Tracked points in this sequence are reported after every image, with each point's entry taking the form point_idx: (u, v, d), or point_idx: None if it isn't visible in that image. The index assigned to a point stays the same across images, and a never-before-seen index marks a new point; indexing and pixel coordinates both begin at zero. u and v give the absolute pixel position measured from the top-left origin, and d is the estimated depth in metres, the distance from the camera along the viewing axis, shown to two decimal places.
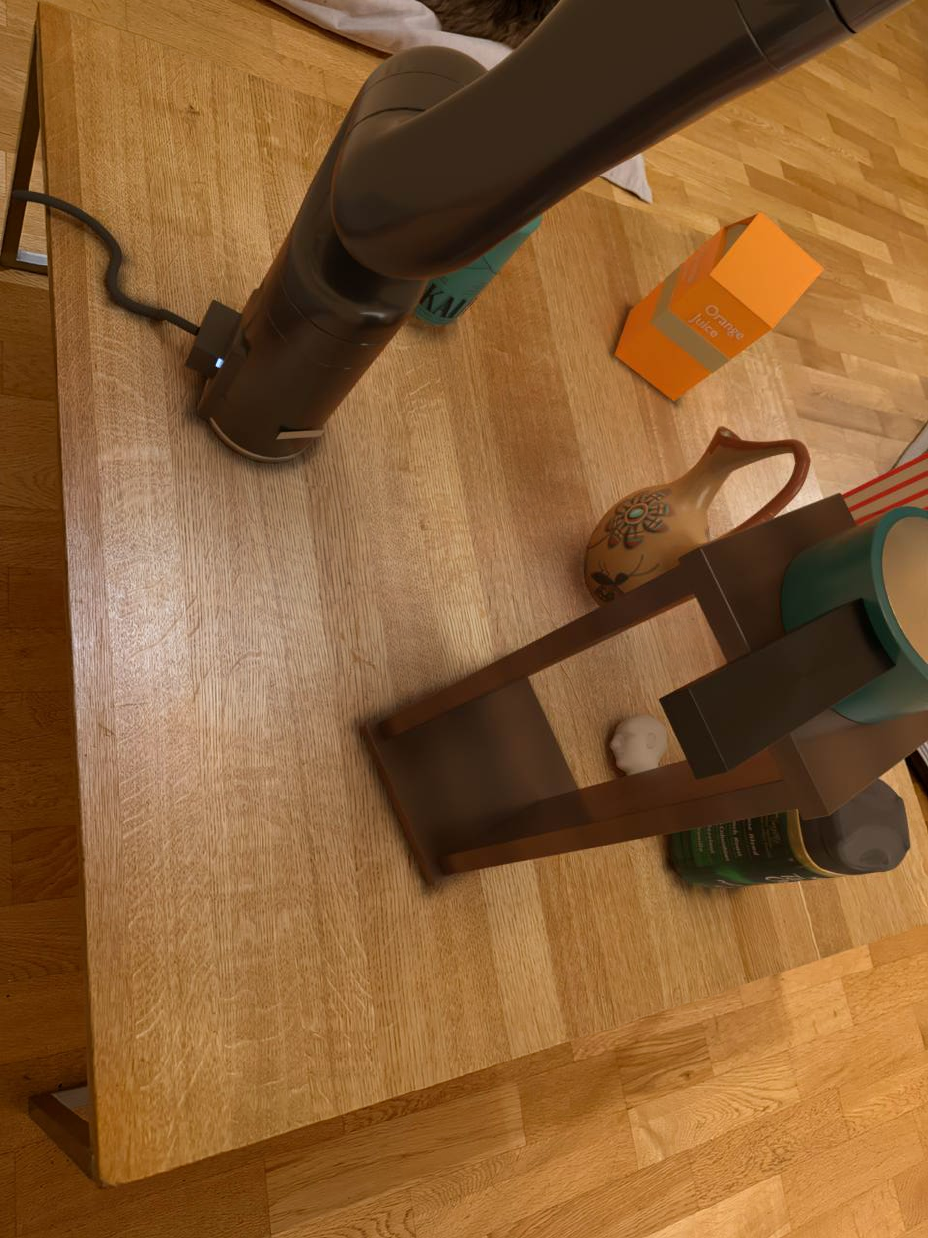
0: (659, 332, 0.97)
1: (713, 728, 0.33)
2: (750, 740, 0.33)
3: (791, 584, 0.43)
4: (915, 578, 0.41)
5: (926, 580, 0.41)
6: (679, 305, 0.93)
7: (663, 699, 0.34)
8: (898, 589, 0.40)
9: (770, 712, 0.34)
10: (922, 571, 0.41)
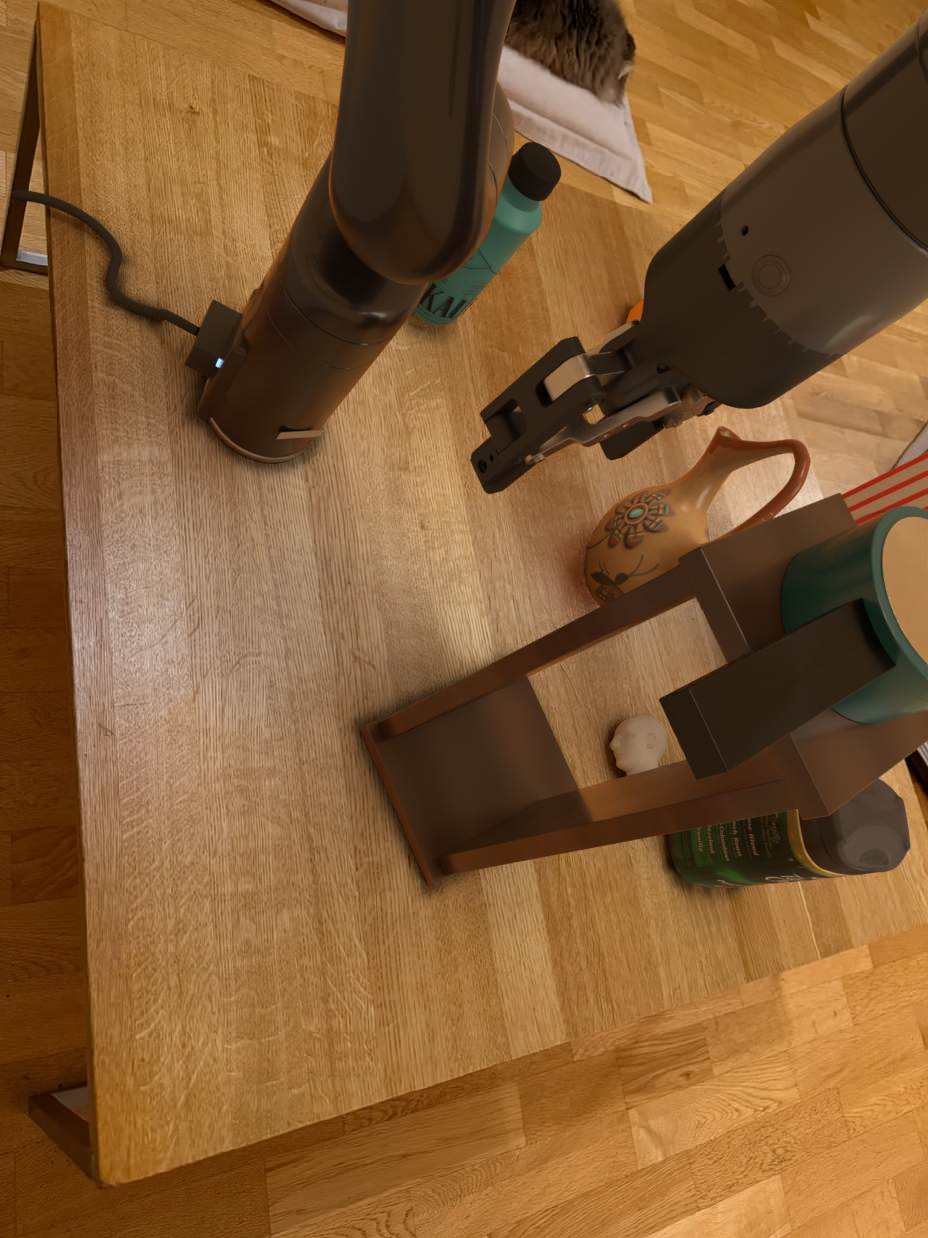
0: None
1: (713, 728, 0.33)
2: (749, 740, 0.33)
3: (791, 584, 0.43)
4: (915, 578, 0.41)
5: (926, 580, 0.41)
6: None
7: (663, 699, 0.34)
8: (898, 589, 0.40)
9: (769, 712, 0.34)
10: (922, 571, 0.41)
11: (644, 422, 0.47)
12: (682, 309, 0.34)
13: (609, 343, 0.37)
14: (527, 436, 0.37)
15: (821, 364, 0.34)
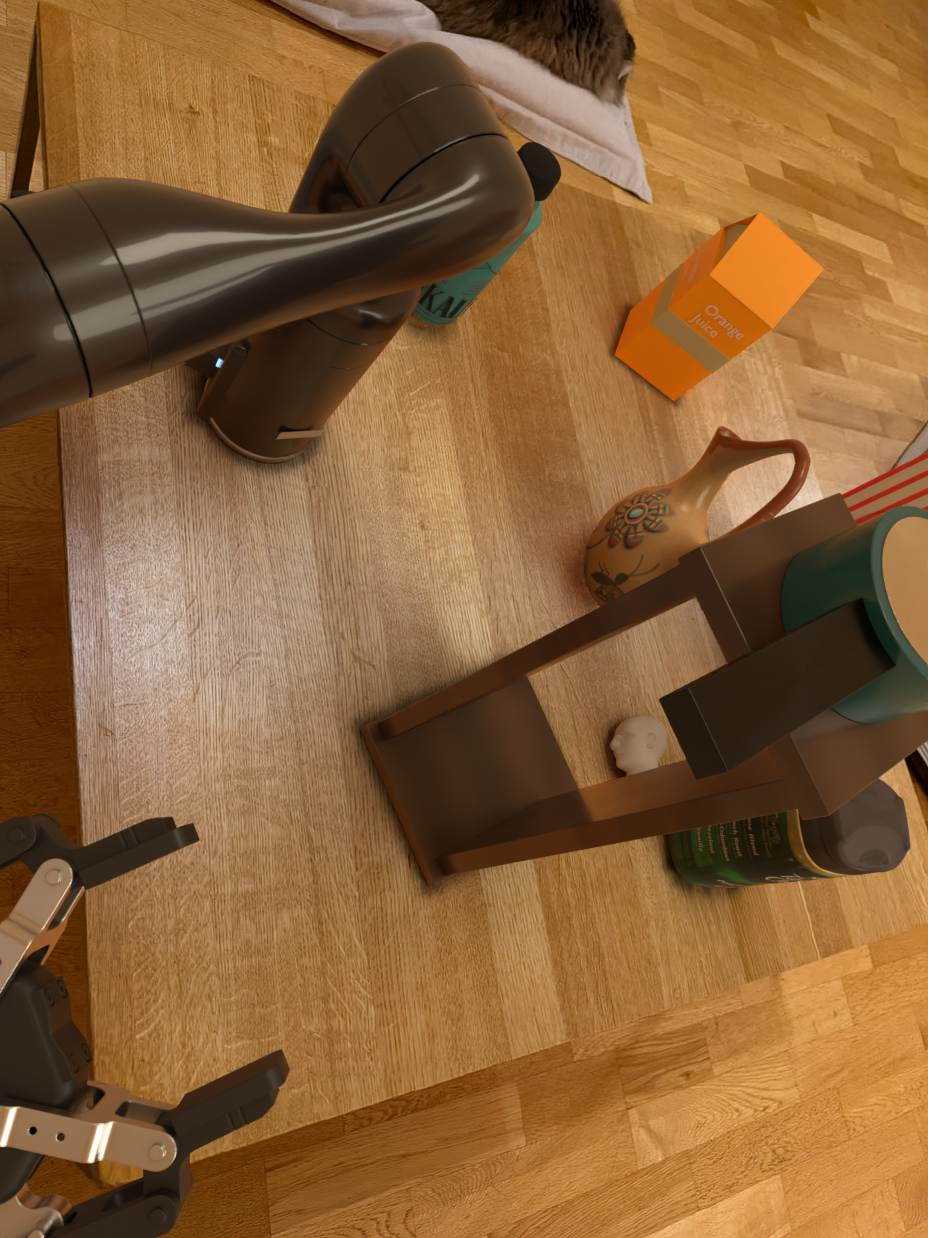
0: (659, 332, 0.97)
1: (713, 728, 0.33)
2: (749, 740, 0.33)
3: (791, 584, 0.43)
4: (915, 578, 0.41)
5: (926, 580, 0.41)
6: (679, 305, 0.93)
7: (663, 699, 0.34)
8: (898, 589, 0.40)
9: (769, 712, 0.34)
10: (922, 571, 0.41)
11: (192, 1095, 0.32)
12: None
13: None
14: None
15: None
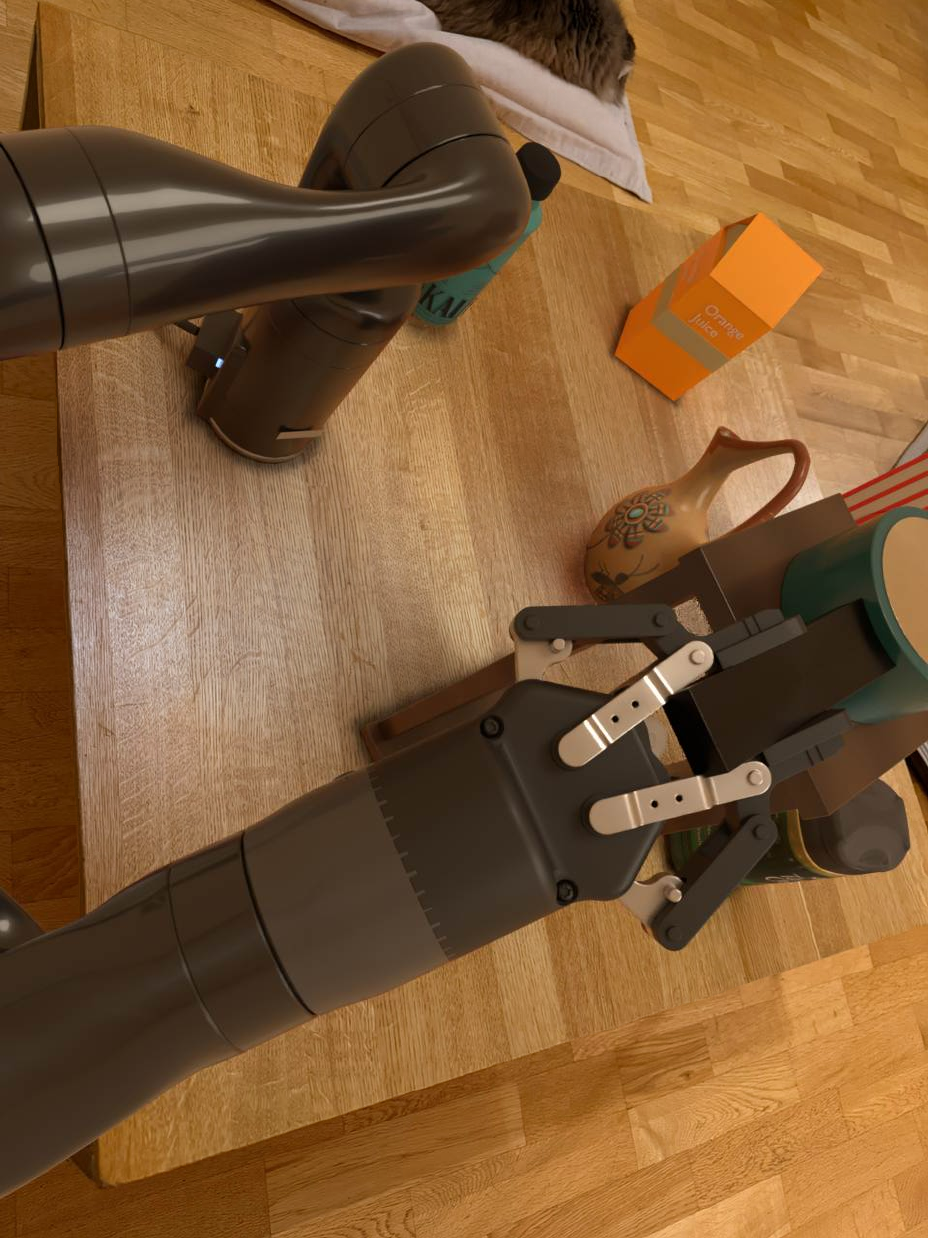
0: (659, 332, 0.97)
1: (713, 729, 0.33)
2: (750, 741, 0.33)
3: (791, 584, 0.43)
4: (916, 578, 0.41)
5: (926, 580, 0.41)
6: (679, 305, 0.93)
7: None
8: (899, 589, 0.40)
9: (770, 712, 0.34)
10: (923, 571, 0.41)
11: None
12: (430, 736, 0.34)
13: (514, 690, 0.34)
14: None
15: None
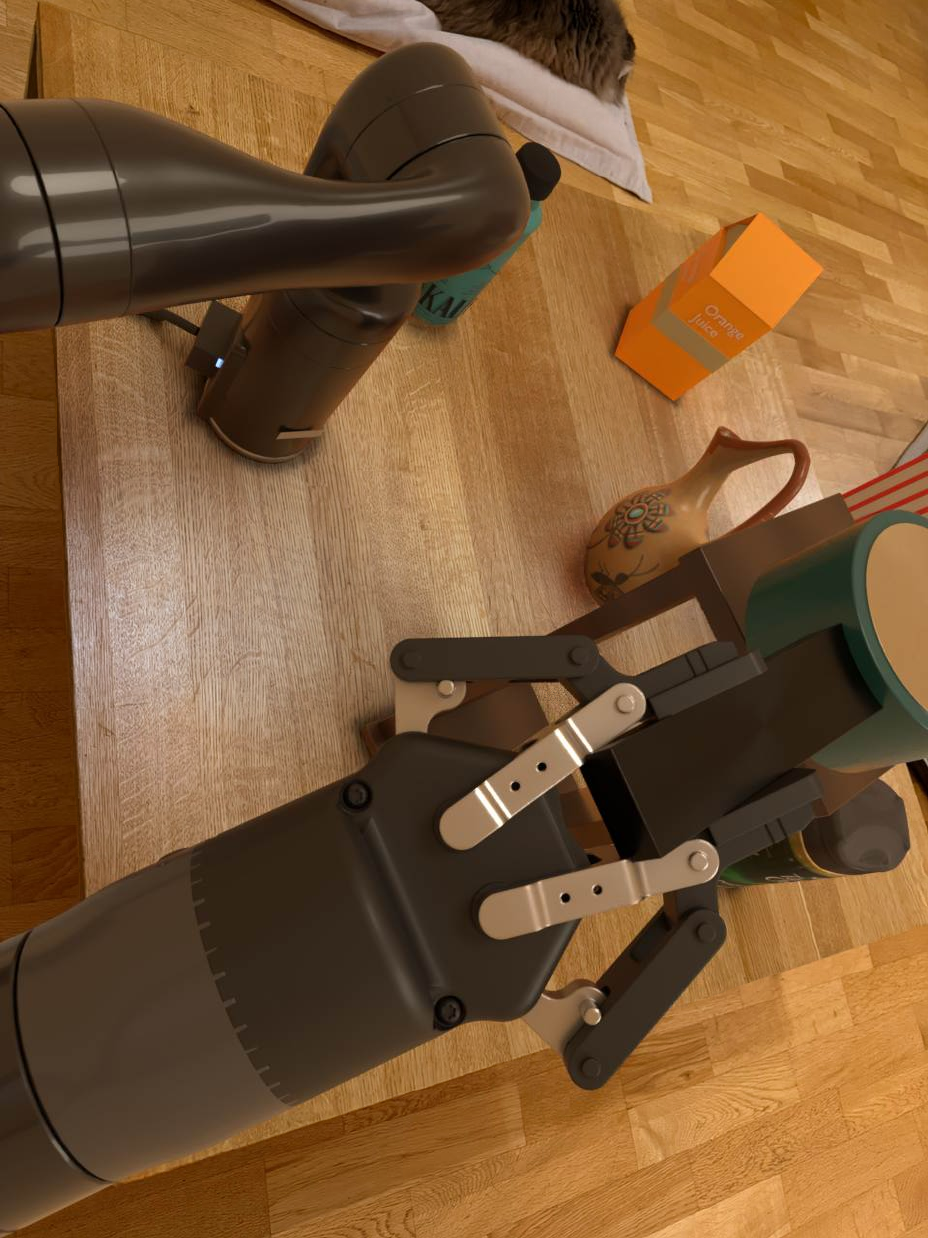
0: (659, 332, 0.97)
1: (642, 801, 0.25)
2: (692, 814, 0.26)
3: (756, 604, 0.36)
4: (907, 598, 0.33)
5: (920, 601, 0.33)
6: (679, 305, 0.93)
7: None
8: (886, 612, 0.32)
9: (719, 775, 0.27)
10: (916, 589, 0.34)
11: None
12: (281, 806, 0.27)
13: (388, 747, 0.26)
14: None
15: None
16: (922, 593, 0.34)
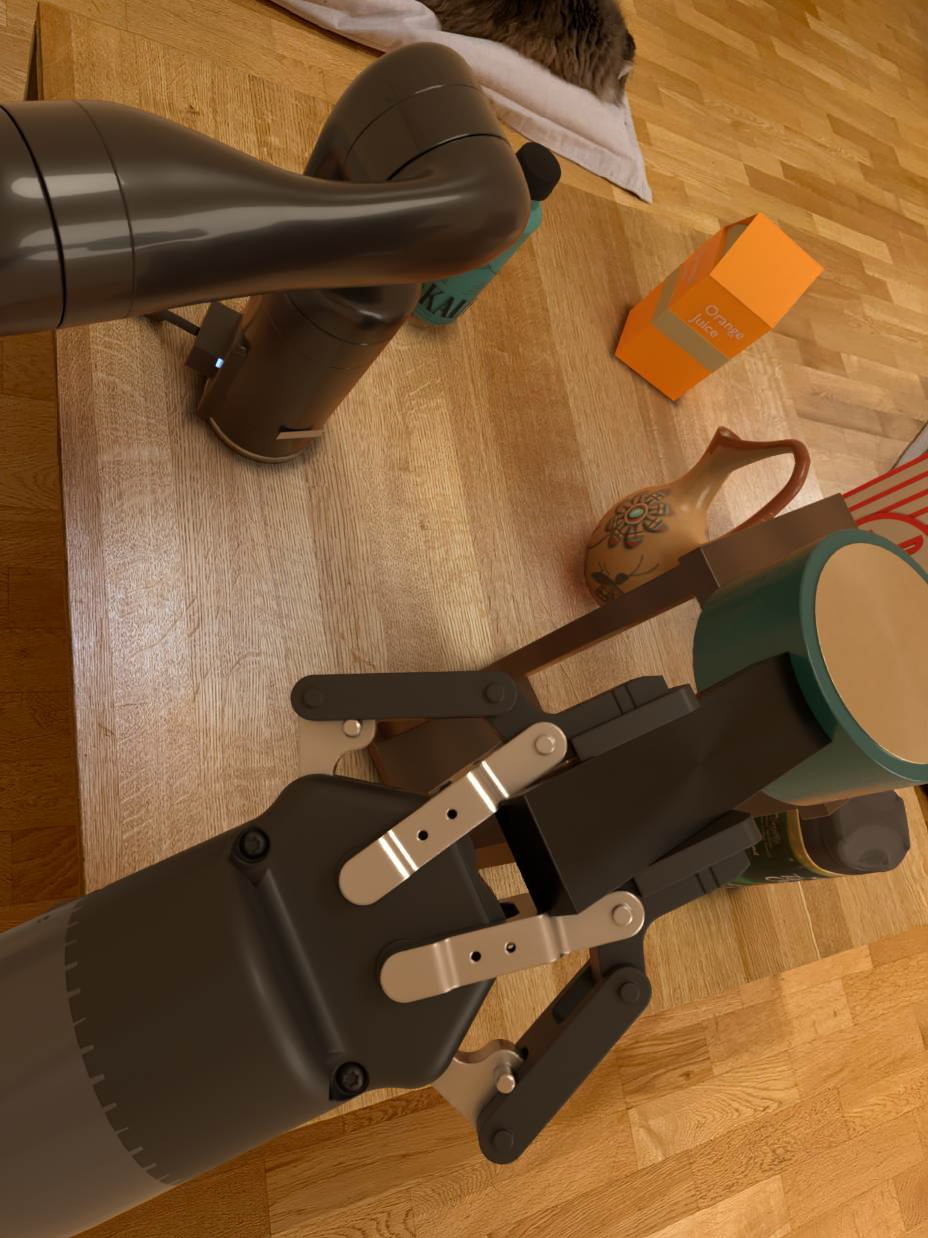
0: (659, 332, 0.97)
1: (558, 852, 0.23)
2: (614, 865, 0.24)
3: (705, 628, 0.34)
4: (860, 624, 0.31)
5: (874, 626, 0.32)
6: (679, 305, 0.93)
7: None
8: (836, 639, 0.30)
9: (647, 820, 0.25)
10: (870, 614, 0.32)
11: None
12: (175, 854, 0.25)
13: (289, 792, 0.24)
14: None
15: None
16: (877, 618, 0.32)
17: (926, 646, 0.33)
